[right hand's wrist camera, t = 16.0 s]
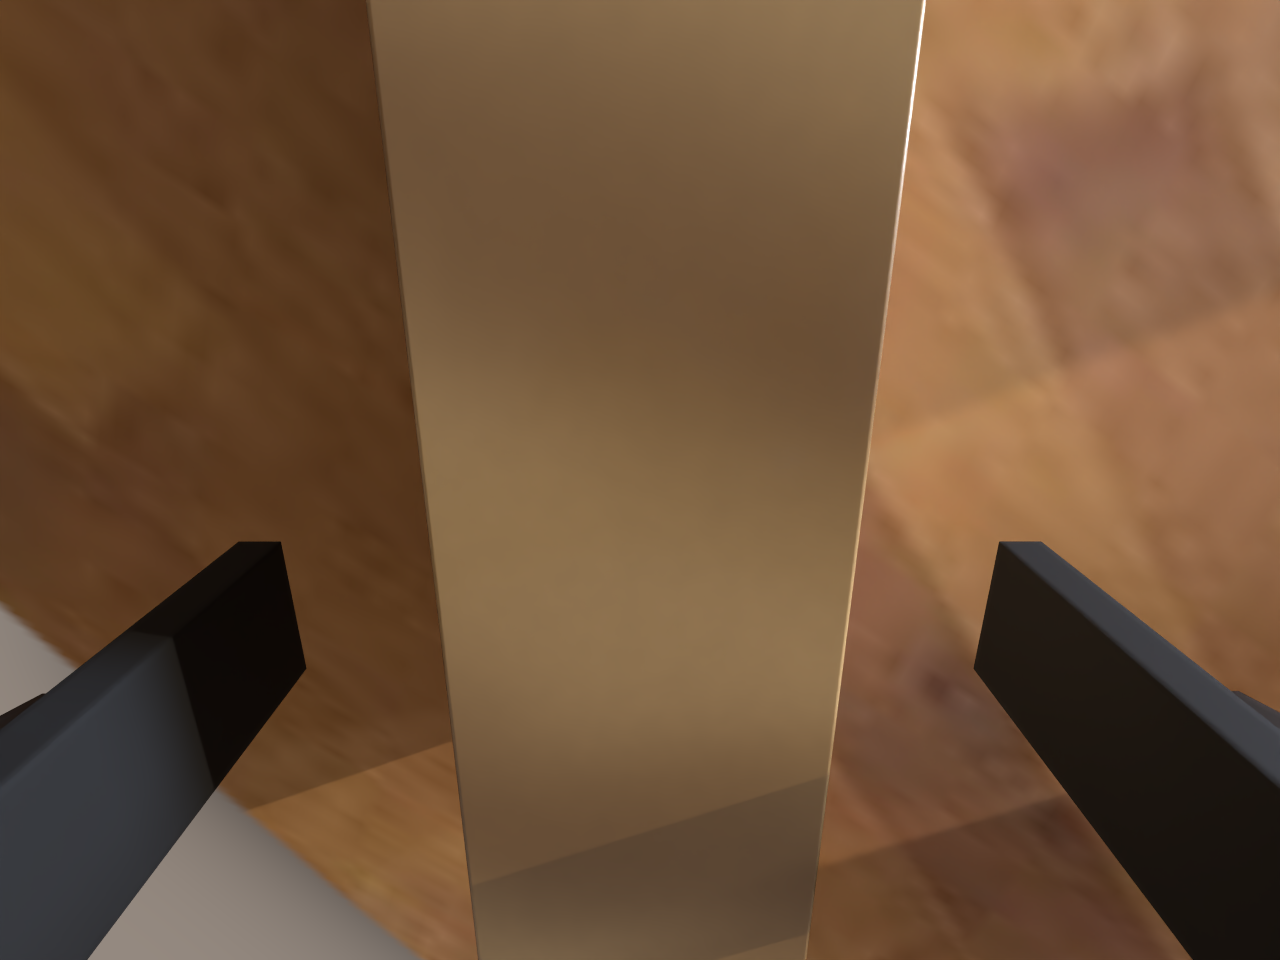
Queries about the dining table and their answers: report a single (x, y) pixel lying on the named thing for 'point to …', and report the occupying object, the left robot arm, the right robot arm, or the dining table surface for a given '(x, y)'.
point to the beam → (644, 438)
